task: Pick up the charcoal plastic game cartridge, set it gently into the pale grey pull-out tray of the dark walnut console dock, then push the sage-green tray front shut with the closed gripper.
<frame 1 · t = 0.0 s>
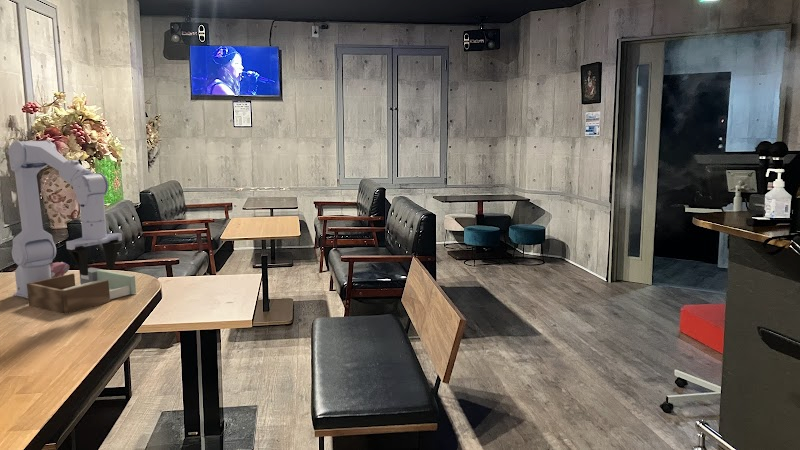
hand: (97, 271, 165), 10 cm above the table, fingers open, 7 cm apart
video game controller: (53, 281, 197), on the table
dock housing: (72, 302, 173), on the table
game cartridge: (93, 286, 190), on the table
tray: (99, 285, 179), point 3 cm above the table, slide at 7.0 cm
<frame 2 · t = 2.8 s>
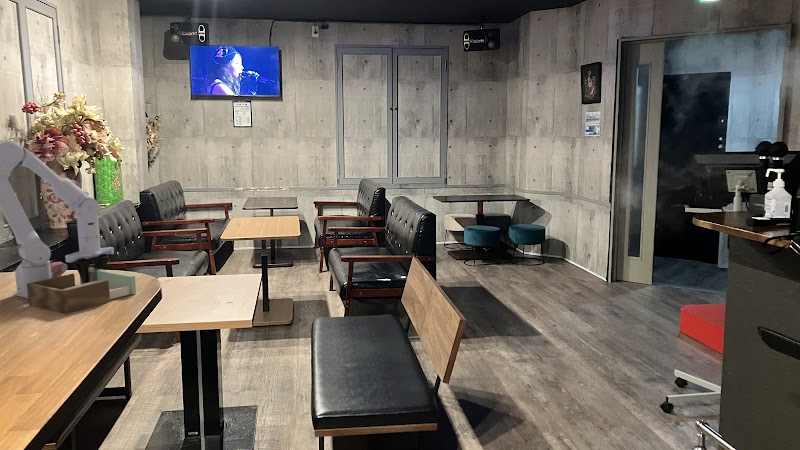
hand: (92, 281, 190), 1 cm above the table, fingers closed on game cartridge, 4 cm apart
game cartridge: (93, 285, 190), on the table, touching gripper
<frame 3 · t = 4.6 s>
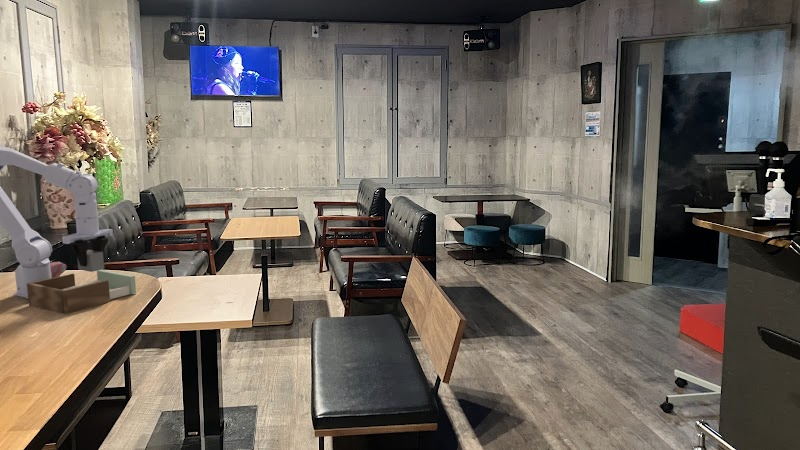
hand: (90, 264, 181), 8 cm above the table, fingers closed on game cartridge, 4 cm apart
game cartridge: (91, 269, 182), point 7 cm above the table, touching gripper
when the fingers open (4 cm above the table, at t = 6.5 s): game cartridge drops 1 cm, resting on tray.
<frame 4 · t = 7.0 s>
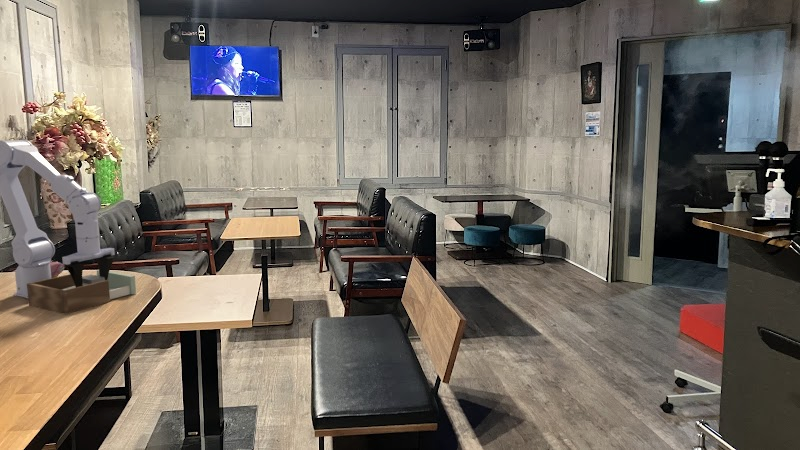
hand: (91, 284, 177), 4 cm above the table, fingers open, 7 cm apart
game cartridge: (92, 294, 178), point 1 cm above the table, touching tray
tray: (98, 286, 179), point 3 cm above the table, slide at 7.0 cm, touching game cartridge
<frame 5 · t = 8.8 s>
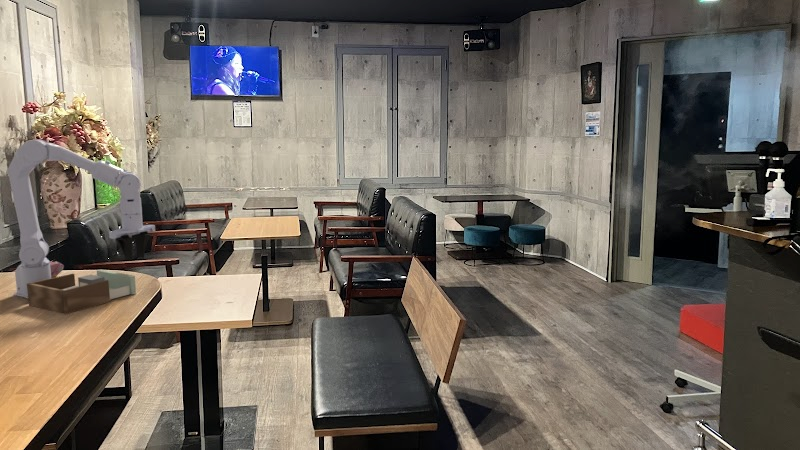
hand: (134, 258, 189), 8 cm above the table, fingers open, 4 cm apart
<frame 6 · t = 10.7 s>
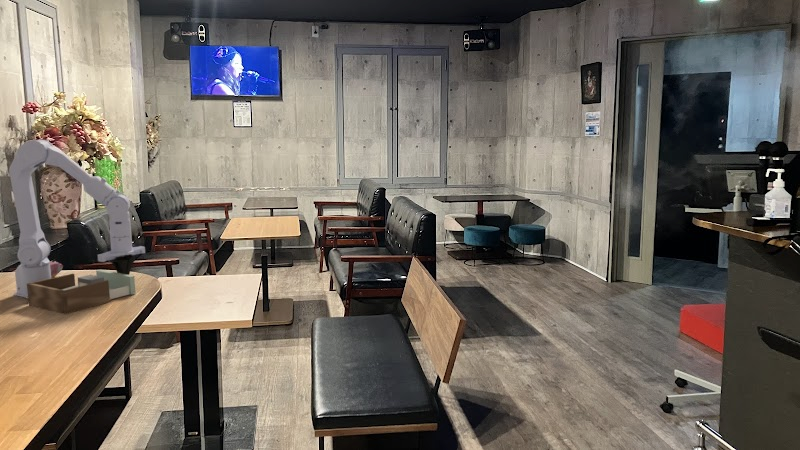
hand: (124, 281, 186), 2 cm above the table, fingers closed
tray: (98, 286, 179), point 3 cm above the table, slide at 6.8 cm, touching game cartridge, gripper
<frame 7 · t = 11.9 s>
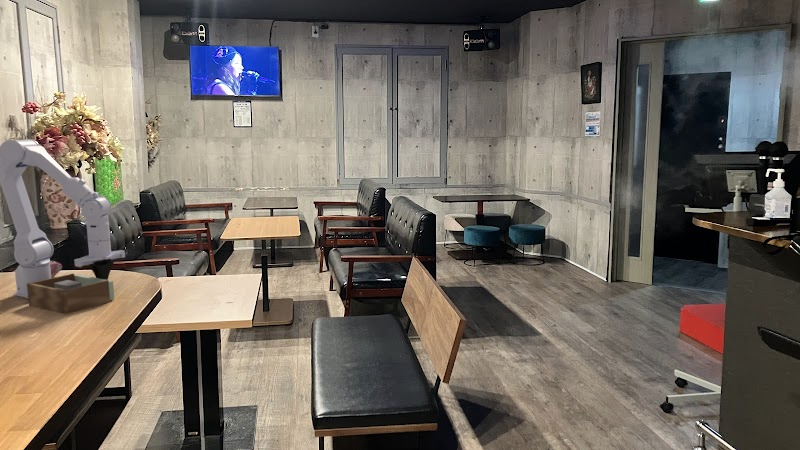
hand: (102, 286, 180), 2 cm above the table, fingers closed
game cartridge: (69, 300, 172), point 1 cm above the table, touching tray
tray: (75, 291, 173), point 3 cm above the table, slide at -0.1 cm, touching game cartridge, gripper
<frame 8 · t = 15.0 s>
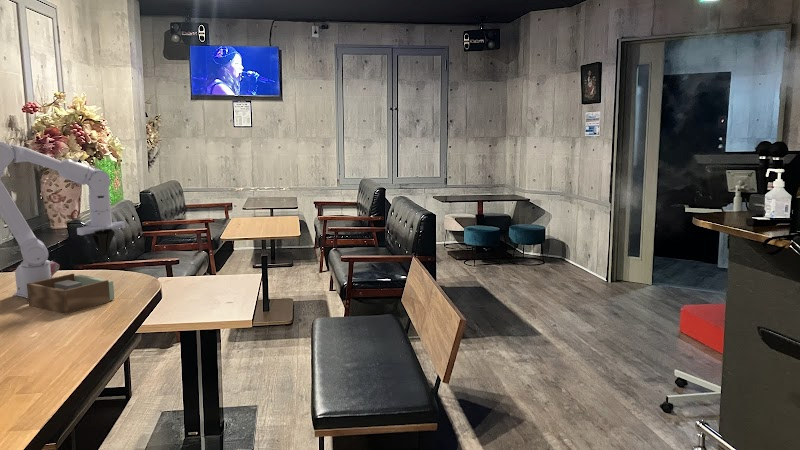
hand: (103, 255, 189), 9 cm above the table, fingers closed
tray: (76, 291, 173), point 3 cm above the table, slide at 0.0 cm, touching game cartridge
at the end: tray slide at 0.0 cm; game cartridge inside the target area on the dock housing (0.9 cm from its centre), point 0.8 cm above the dock housing's base; game cartridge tilted 0° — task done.
